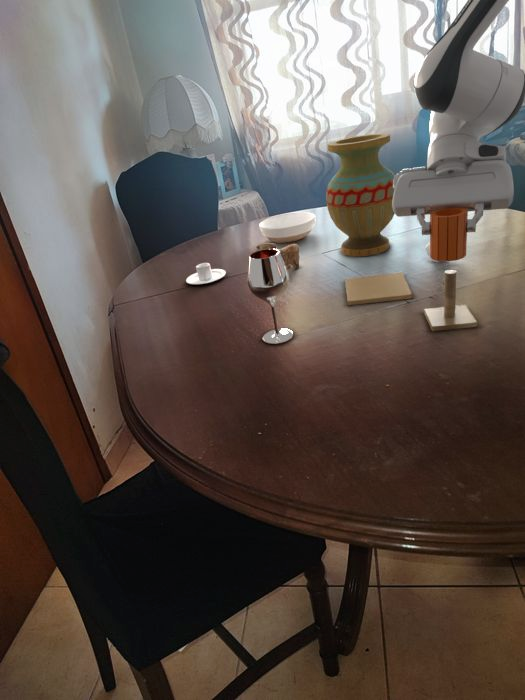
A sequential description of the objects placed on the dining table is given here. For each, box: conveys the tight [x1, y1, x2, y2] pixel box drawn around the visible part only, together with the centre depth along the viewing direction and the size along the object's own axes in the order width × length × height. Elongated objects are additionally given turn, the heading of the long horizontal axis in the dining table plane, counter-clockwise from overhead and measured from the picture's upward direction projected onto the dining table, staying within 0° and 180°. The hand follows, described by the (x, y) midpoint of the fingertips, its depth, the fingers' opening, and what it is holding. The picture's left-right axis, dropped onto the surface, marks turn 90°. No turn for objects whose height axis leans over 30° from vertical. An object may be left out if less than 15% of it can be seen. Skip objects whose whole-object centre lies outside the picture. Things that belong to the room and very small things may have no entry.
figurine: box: [256, 242, 301, 270], centre depth 128 cm, size 7×16×10 cm, turn 139°
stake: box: [423, 269, 478, 332], centre depth 88 cm, size 8×8×10 cm
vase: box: [325, 132, 396, 257], centre depth 130 cm, size 20×20×30 cm
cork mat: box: [344, 271, 413, 306], centre depth 109 cm, size 14×14×1 cm
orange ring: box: [429, 208, 469, 263], centre depth 83 cm, size 6×6×8 cm
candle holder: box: [185, 262, 227, 285], centre depth 136 cm, size 12×12×4 cm
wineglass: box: [247, 248, 294, 345], centre depth 92 cm, size 8×8×18 cm
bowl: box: [258, 211, 317, 244], centre depth 159 cm, size 20×20×6 cm
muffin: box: [425, 240, 443, 263], centre depth 117 cm, size 6×6×7 cm
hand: (448, 232), depth 82 cm, fingers closed on orange ring, 6 cm apart
